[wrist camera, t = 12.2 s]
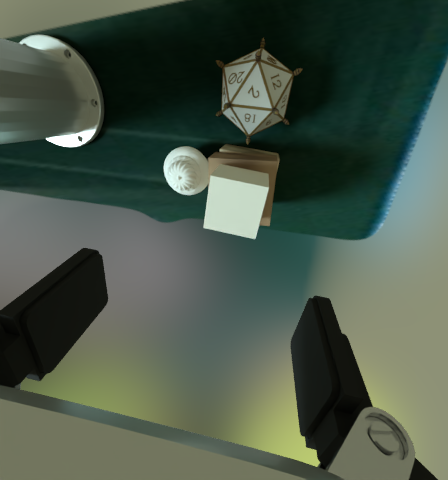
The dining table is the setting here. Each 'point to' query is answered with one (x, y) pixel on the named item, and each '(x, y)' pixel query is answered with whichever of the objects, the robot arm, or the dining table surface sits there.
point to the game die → (255, 91)
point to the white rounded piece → (186, 170)
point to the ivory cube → (236, 200)
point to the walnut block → (251, 163)
